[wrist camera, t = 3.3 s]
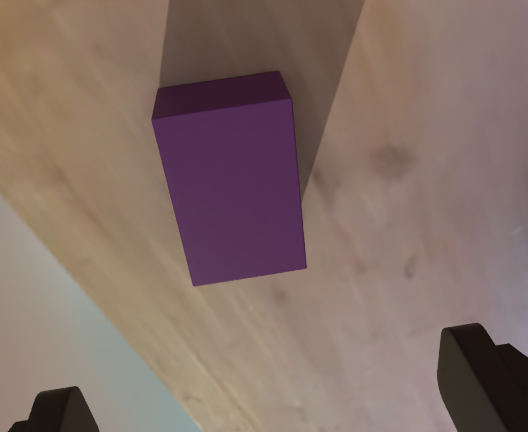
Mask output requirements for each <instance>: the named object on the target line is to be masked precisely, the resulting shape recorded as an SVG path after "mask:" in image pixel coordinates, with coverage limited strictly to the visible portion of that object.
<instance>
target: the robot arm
mask: <svg viewBox="0 0 528 432" xmlns="http://www.w3.org/2000/svg"><path fill="white" fill-rule="evenodd" d="M437 380H438V386H439V390H440V394H441V397H442V399H443V402H444V404H445V406H446V408H447V410H448V412H449V414H450V417H451V419H452V421H453V423H454V425H455V427H456V429H457V431H458V432H528V357H526V356H525V355H524V354H522V353H521V352H520V351H518V350H517V349H516V348H514V347H513V346H512V345H511V344H509V343H508V344H502V345H495V344H494V342H493V341H492V339H491V338H490V336H489V335H488V333H487V331H486V330H485V329H484V327H483V326H482V325H481V324H479V323H472V324H466V325H460V326H454V327H447V328H444V329H443V330H442V333H441V341H440V350H439V359H438V369H437ZM8 432H99V428H98V426H97V424H96V422H95V420H94V418H93V415H92V413H91V411H90V409H89V407H88V405H87V403H86V401H85V399H84V397H83V395H82V392H81V391H80V389H79V388H78V387H76V386H73V387H67V388H61V389H54V390H48V391H42V392H40V393H39V394H38V395H37V397H36V399H35V401H34V404H33V407H32V410H31V413H30V416H29V419H28V420H25V421H20V422H15V423H14V424H13V426H12V427H11V428H10V430H9V431H8Z"/></svg>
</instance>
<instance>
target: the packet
mask: <svg viewBox="0 0 528 432" xmlns="http://www.w3.org/2000/svg"><path fill="white" fill-rule="evenodd" d="M151 120H152V124H153V128H154V132H155V136H156V140H157V144H158V148H159V152H160V156H161V160H162V164H163V168H164V172H165V176H166V180H167V184H168V188H169V192H170V196H171V200H172V204H173V208H174V212H175V216H176V220H177V224H178V228H179V232H180V236H181V240H182V244H183V248H184V252H185V256H186V260H187V264H188V268H189V272H190V276H191V280H192V284H193V286H194V287H195V286H201V285H207V284H214V283H220V282H226V281H232V280H239V279H245V278H251V277H257V276H264V275H270V274H276V273H282V272H289V271H295V270H301V269H306V268H307V265H306V253H305V242H304V231H303V219H302V208H301V196H300V185H299V173H298V162H297V150H296V139H295V127H294V116H293V105H292V98H291V96H290V93H289V91H288V89H287V87H286V85H285V83H284V80H283V78H282V76H281V74H280V72H279V71H274V72H268V73H261V74H254V75H247V76H241V77H234V78H227V79H220V80H214V81H207V82H200V83H193V84H187V85H180V86H173V87H166V88H160V89H158V91H157V95H156V100H155V105H154V110H153V114H152V119H151Z"/></svg>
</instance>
